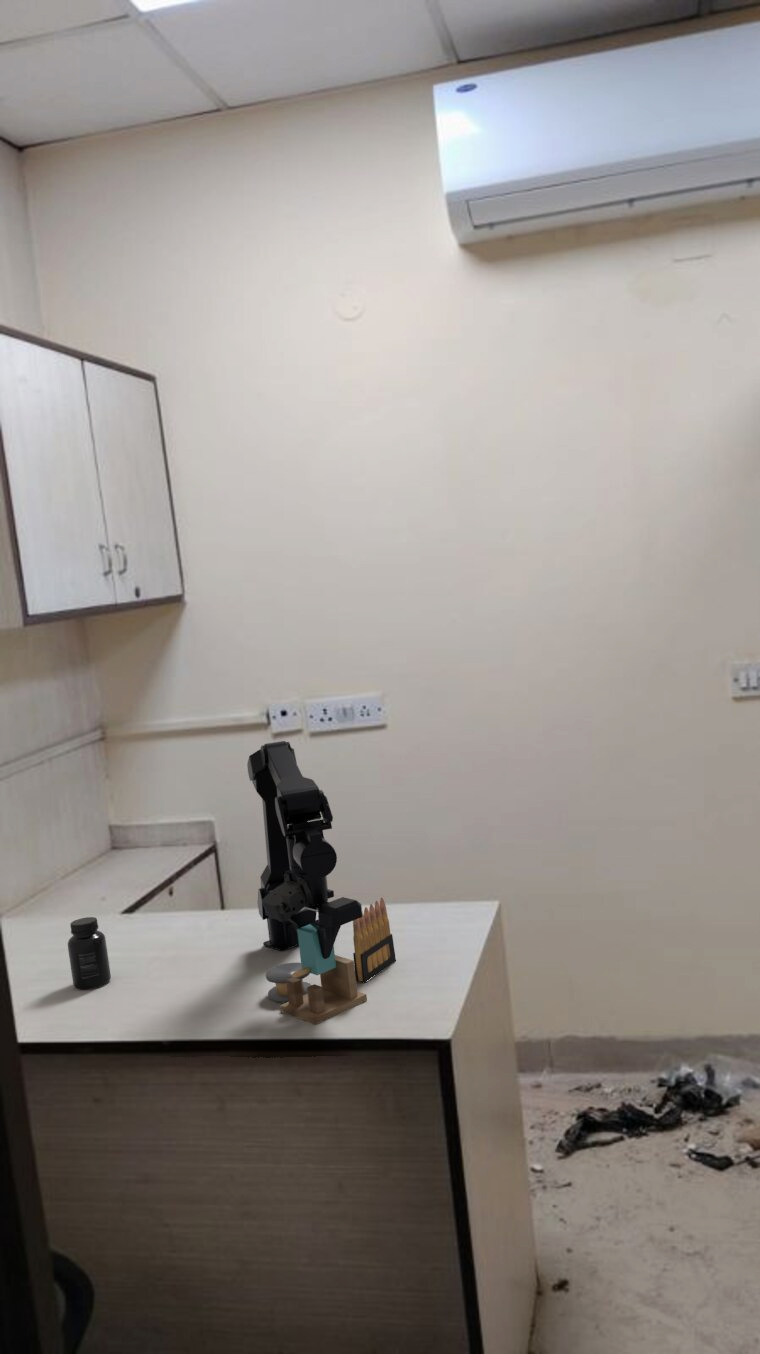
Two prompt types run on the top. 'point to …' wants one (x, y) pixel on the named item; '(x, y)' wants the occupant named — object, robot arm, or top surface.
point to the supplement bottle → (88, 955)
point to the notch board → (324, 994)
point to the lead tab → (312, 953)
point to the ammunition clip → (372, 942)
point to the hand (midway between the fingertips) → (317, 955)
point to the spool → (284, 981)
